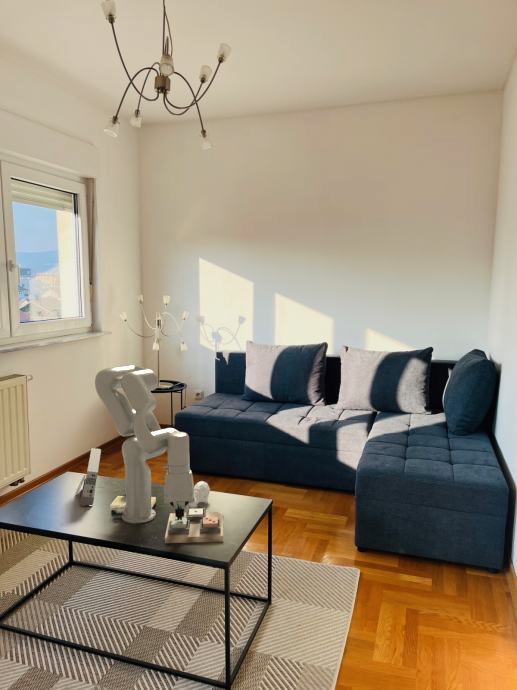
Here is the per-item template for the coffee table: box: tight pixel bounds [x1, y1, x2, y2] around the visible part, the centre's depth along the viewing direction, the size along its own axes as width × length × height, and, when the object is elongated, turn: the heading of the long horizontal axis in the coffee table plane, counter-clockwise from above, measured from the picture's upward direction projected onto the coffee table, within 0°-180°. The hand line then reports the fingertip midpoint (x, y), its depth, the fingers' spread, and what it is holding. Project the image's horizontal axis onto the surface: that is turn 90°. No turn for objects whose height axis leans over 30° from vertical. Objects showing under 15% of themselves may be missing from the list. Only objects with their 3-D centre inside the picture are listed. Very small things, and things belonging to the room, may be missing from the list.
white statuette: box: [187, 480, 211, 509], centre depth 215 cm, size 6×8×12 cm
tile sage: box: [171, 518, 187, 529], centre depth 189 cm, size 5×5×2 cm
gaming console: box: [75, 447, 102, 507], centre depth 221 cm, size 23×8×20 cm, turn 15°
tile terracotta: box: [203, 517, 218, 528], centre depth 190 cm, size 5×5×2 cm
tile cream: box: [188, 507, 204, 516], centre depth 199 cm, size 5×5×2 cm
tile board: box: [164, 507, 224, 544], centre depth 194 cm, size 20×20×4 cm
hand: (179, 518), depth 188 cm, fingers closed
